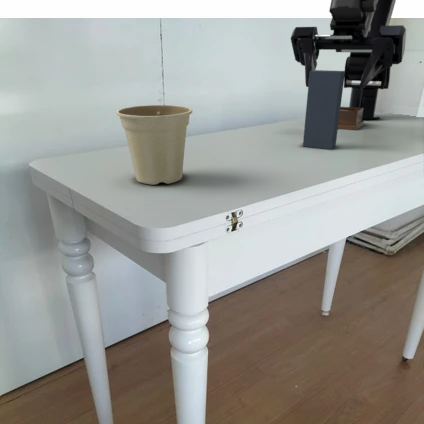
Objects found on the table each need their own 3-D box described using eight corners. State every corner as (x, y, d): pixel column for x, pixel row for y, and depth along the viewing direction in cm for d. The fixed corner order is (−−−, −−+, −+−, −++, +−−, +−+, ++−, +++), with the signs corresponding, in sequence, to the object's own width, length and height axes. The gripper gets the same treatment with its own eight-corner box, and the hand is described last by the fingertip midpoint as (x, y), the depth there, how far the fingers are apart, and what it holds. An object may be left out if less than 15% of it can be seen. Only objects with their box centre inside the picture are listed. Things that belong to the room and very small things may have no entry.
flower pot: (186, 190, 56) (183, 116, 51) (113, 187, 57) (104, 114, 52) (200, 171, 64) (198, 105, 59) (135, 169, 65) (129, 104, 60)
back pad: (307, 143, 79) (314, 70, 73) (335, 146, 77) (345, 70, 71) (302, 146, 77) (309, 71, 71) (331, 149, 75) (341, 72, 69)
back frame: (317, 121, 99) (319, 104, 97) (364, 124, 95) (366, 107, 93) (308, 126, 94) (309, 109, 92) (356, 129, 89) (359, 112, 88)
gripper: (298, -30, 75) (271, 48, 73) (418, -38, 68) (392, 49, 65) (308, 25, 85) (284, 96, 83) (413, 24, 78) (390, 101, 75)
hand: (333, 86), depth 76 cm, fingers open, 9 cm apart
